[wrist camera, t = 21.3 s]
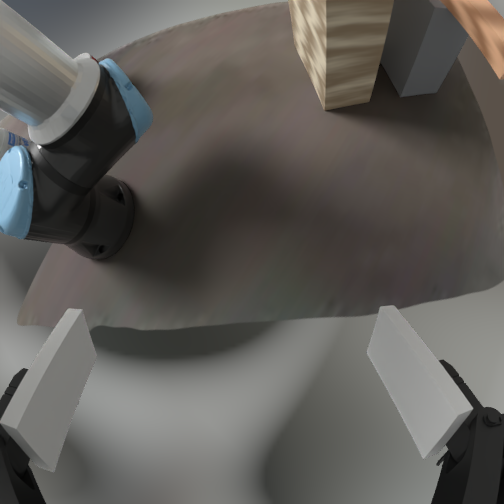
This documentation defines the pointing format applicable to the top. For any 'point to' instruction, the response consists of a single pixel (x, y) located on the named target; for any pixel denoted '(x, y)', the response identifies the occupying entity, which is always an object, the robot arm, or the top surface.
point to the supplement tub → (10, 141)
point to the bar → (482, 28)
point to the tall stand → (341, 46)
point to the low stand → (421, 45)
